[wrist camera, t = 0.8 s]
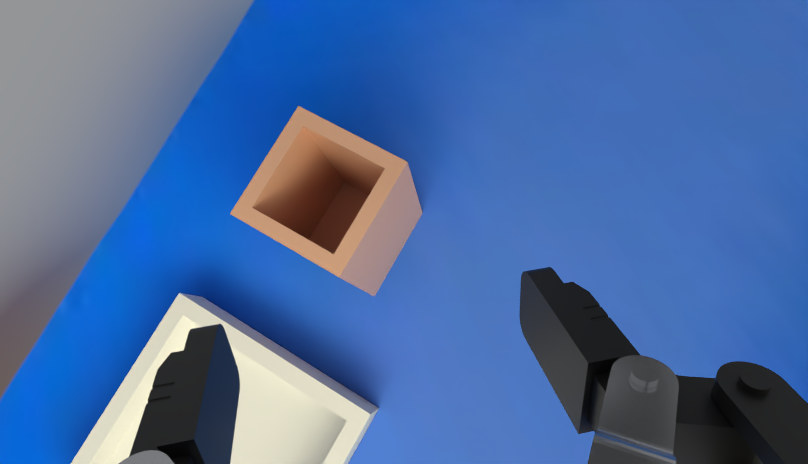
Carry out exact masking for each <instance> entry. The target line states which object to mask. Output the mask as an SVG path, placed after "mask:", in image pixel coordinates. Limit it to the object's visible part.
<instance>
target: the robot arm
mask: <svg viewBox="0 0 808 464" xmlns="http://www.w3.org/2000/svg"><path fill="white" fill-rule="evenodd" d="M520 324H521V328H522V332H523V334H524V337H525V339H526V341H527V342H528V344H529V346H530V348H531V350H532V351H533V353H534V355H535V357H536V359H537V360H538V362H539V364H540V366H541V368H542V369H543V371H544V373H545V375H546V377H547V378H548V380H549V382H550V384H551V385H552V387H553V389H554V391H555V393H556V394H557V396H558V398H559V400H560V402H561V403H562V405H563V407H564V409H565V411H566V412H567V414H568V416H569V418H570V420H571V421H572V423H573V425H574V427H575V429H576V430H577V432H578V434H581V433H586V432H590V431H594V432H595V435H594V439H593V443H592V447H591V451H590V456H589V460H588V464H808V403H807V402H806V401H805V400H804V399H803V398H802V397H801V396H800V395H799V394H798V393H797V392H796V391H795V390H794V389H793V388H792V387H791V386H790V385H789V384H788V383H787V382H786V381H785V380H784V379H782V378H781V377H780V376H779V375H777V374H776V373H775V372H773V371H771V370H769V369H767V368H765V367H763V366H760V365H757V364H753V363H749V362H739V361H737V362H730V363H727V364H724V365H723V366H721V367H720V368H719V370H718V372H717V375H716V378H703V377H688V376H678V375H675V374H674V373H673V371H672V370H671V369H670V368H669V367H667V366H666V365H665V364H663V363H661V362H660V361H658V360H655V359H653V358H650V357H646V356H641V355H640V354H639V353H638V352H637V350H636V349H635V348H634V347H633V345H632V344H631V343H630V342H629V341H628V339H627V338H626V337H625V336H624V334H623V333H622V332H621V331H620V329H619V328H618V327H617V326H616V324H615V323H614V322H613V321H612V320H611V318H608V315H607V313H606V312H605V311H604V310H603V308H602V307H600V305H599V303H598V302H597V301H596V300H595V299H594V297H593V296H592V295H591V294H590V292H589V291H587V290H585V289H584V288H582V287H580V286H579V285H577V284H575V283H574V282H569V283H563V282H562V280H561V279H560V278H559V276H558V275H557V274H556V272H555V271H554V270H553V269H552V268H550V267H547V268H542V269H536V270H530V271H525V272H523V273H522V276H521V293H520ZM239 393H240V378H239V371H238V367H237V364H236V361H235V358H234V355H233V352H232V349H231V346H230V344H229V341H228V338H227V335H226V332H225V329H224V327H223V325H222V324H216V325H210V326H204V327H199V328H193V329H190V331H189V333H188V336H187V340H186V343H185V347H184V350H183V351H178V352H172V353H170V355H169V356H168V357H167V358H166V360H165V361H164V362H163V363H162V364H161V366H160V367H159V368H158V370H157V373H156V376H155V379H154V382H153V385H152V389H151V391H150V394H149V397H148V404H146V406H145V409H144V412H143V415H142V419H141V422H140V425H139V428H138V431H137V434H136V437H135V440H134V443H133V446H132V449H131V452H130V455H129V457H128V458H126V459H124V460H123V461H121V462H120V463H119V464H230V461H231V454H232V446H233V438H234V431H235V423H236V416H237V408H238V400H239Z"/></svg>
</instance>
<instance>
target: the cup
mask: <svg viewBox="0 0 808 464" xmlns="http://www.w3.org/2000/svg"><path fill="white" fill-rule="evenodd" d="M230 214H231V215H233V216H235V217H236V218H238V219H240V220H242V221H243V222H245V223H247V224H248V225H250V226H252V227H254V228H255V229H257V230H259V231H260V232H262V233H264V234H266V235H267V236H269V237H271V238H272V239H274V240H276V241H278V242H279V243H281V244H283V245H285V246H286V247H288V248H290V249H291V250H293V251H295V252H297V253H298V254H300V255H302V256H303V257H305V258H307V259H309V260H310V261H312V262H314V263H315V264H317V265H319V266H321V267H322V268H324V269H326V270H328V271H329V272H331V273H333V274H334V275H336V276H338V277H340V278H341V279H343V280H345V281H347V282H349V283H350V284H352V285H354V286H356V287H358V288H360V289H361V290H363V291H365V292H367V293H369V294H370V295H372V296H375V295H376V293H377V291H378V289H379V288H380V286H381V284H382V282H383V281H384V279H385V277H386V276H387V274H388V272H389V270H390V269H391V267H392V265H393V263H394V262H395V260H396V258H397V257H398V255H399V253H400V251H401V250H402V248H403V246H404V244H405V243H406V241H407V239H408V237H409V236H410V234H411V232H412V231H413V229H414V227H415V225H416V224H417V222H418V220H419V218H420V217H421V215H422V209H421V206H420V203H419V199H418V196H417V192H416V189H415V186H414V182H413V179H412V175H411V172H410V169H409V165H408V162H407V161H405V160H403V159H401V158H399V157H397V156H395V155H393V154H391V153H389V152H387V151H385V150H383V149H382V148H380V147H378V146H376V145H374V144H372V143H370V142H368V141H366V140H364V139H362V138H360V137H358V136H356V135H354V134H352V133H350V132H348V131H346V130H344V129H343V128H341V127H339V126H337V125H335V124H333V123H331V122H329V121H327V120H325V119H323V118H321V117H319V116H317V115H315V114H313V113H311V112H309V111H307V110H305V109H304V108H302V107H300V106H298V107H297V109H296V111H295V112H294V114H293V115H292V117H291V118H290V120H289V122H288V123H287V125H286V126H285V128H284V129H283V131H282V133H281V134H280V136H279V137H278V139H277V140H276V142H275V144H274V145H273V147H272V148H271V150H270V152H269V153H268V155H267V156H266V158H265V159H264V161H263V163H262V164H261V166H260V167H259V169H258V170H257V172H256V174H255V175H254V177H253V178H252V180H251V181H250V183H249V185H248V186H247V188H246V189H245V191H244V192H243V194H242V196H241V197H240V199H239V200H238V202H237V203H236V205H235V207H234V208H233V210H232V211H231V213H230Z"/></svg>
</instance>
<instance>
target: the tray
mask: <svg viewBox="0 0 808 464" xmlns="http://www.w3.org/2000/svg"><path fill="white" fill-rule="evenodd" d="M216 324H222V325H223V327H224V329H225V332H226V335H227V338H228V341H229V344H230V346H231V349H232V352H233V355H234V358H235V361H236V364H237V367H238V371H239V378H240V393H239V400H238V408H237V416H236V423H235V431H234V438H233V446H232V454H231V461H230V464H348V463H349V461H350V459H351V457H352V456H353V454H354V452H355V450H356V448H357V447H358V445H359V443H360V441H361V439H362V438H363V436H364V434H365V432H366V430H367V429H368V427H369V425H370V423H371V422H372V420H373V418H374V416H375V414H376V413H377V411H378V409H379V408H378V407H376V406H375V405H373V404H372V403H370V402H369V401H367V400H365V399H364V398H362V397H361V396H359V395H357V394H356V393H354V392H353V391H351V390H349V389H348V388H346V387H345V386H343V385H342V384H340V383H338V382H337V381H335V380H334V379H332V378H330V377H329V376H327V375H326V374H324V373H322V372H321V371H319V370H318V369H316V368H315V367H313V366H311V365H310V364H308V363H307V362H305V361H303V360H302V359H300V358H299V357H297V356H295V355H294V354H292V353H291V352H289V351H288V350H286V349H284V348H283V347H281V346H280V345H278V344H276V343H275V342H273V341H272V340H270V339H269V338H267V337H265V336H264V335H262V334H261V333H259V332H257V331H256V330H254V329H253V328H251V327H249V326H248V325H246V324H245V323H243V322H242V321H240V320H238V319H237V318H235V317H234V316H232V315H230V314H229V313H227V312H226V311H224V310H222V309H221V308H219V307H218V306H216V305H215V304H213V303H211V302H210V301H208V300H207V299H205V298H203V297H200V296H194V295H189V294H183V293H179V294H178V296H177V297H176V299H175V300H174V302H173V303H172V305H171V307H170V308H169V310H168V311H167V313H166V314H165V316H164V318H163V319H162V321H161V322H160V324H159V326H158V327H157V329H156V330H155V332H154V333H153V335H152V337H151V338H150V340H149V341H148V343H147V344H146V346H145V348H144V349H143V351H142V352H141V354H140V355H139V357H138V359H137V360H136V362H135V363H134V365H133V366H132V368H131V370H130V371H129V373H128V374H127V376H126V377H125V379H124V381H123V382H122V384H121V385H120V387H119V388H118V390H117V392H116V393H115V395H114V396H113V398H112V400H111V401H110V403H109V404H108V406H107V407H106V409H105V411H104V412H103V414H102V415H101V417H100V418H99V420H98V422H97V423H96V425H95V426H94V428H93V429H92V431H91V433H90V434H89V436H88V437H87V439H86V440H85V442H84V444H83V445H82V447H81V448H80V450H79V451H78V453H77V455H76V456H75V458H74V459H73V461H72V463H71V464H119V463H120V462H121V461H123V460H124V459H126V458H128V457H129V455H130V452H131V449H132V446H133V443H134V440H135V437H136V434H137V431H138V428H139V425H140V422H141V419H142V415H143V412H144V409H145V406H146V404H148V397H149V394H150V391H151V389H152V385H153V382H154V379H155V376H156V373H157V370H158V368H159V367H160V366H161V364H162V363H163V362H164V361H165V360H166V358H167V357H168V356H169V355H170V353H172V352H178V351H183V350H184V347H185V343H186V340H187V336H188V333H189V331H190V329H193V328H199V327H204V326H210V325H216Z"/></svg>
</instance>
